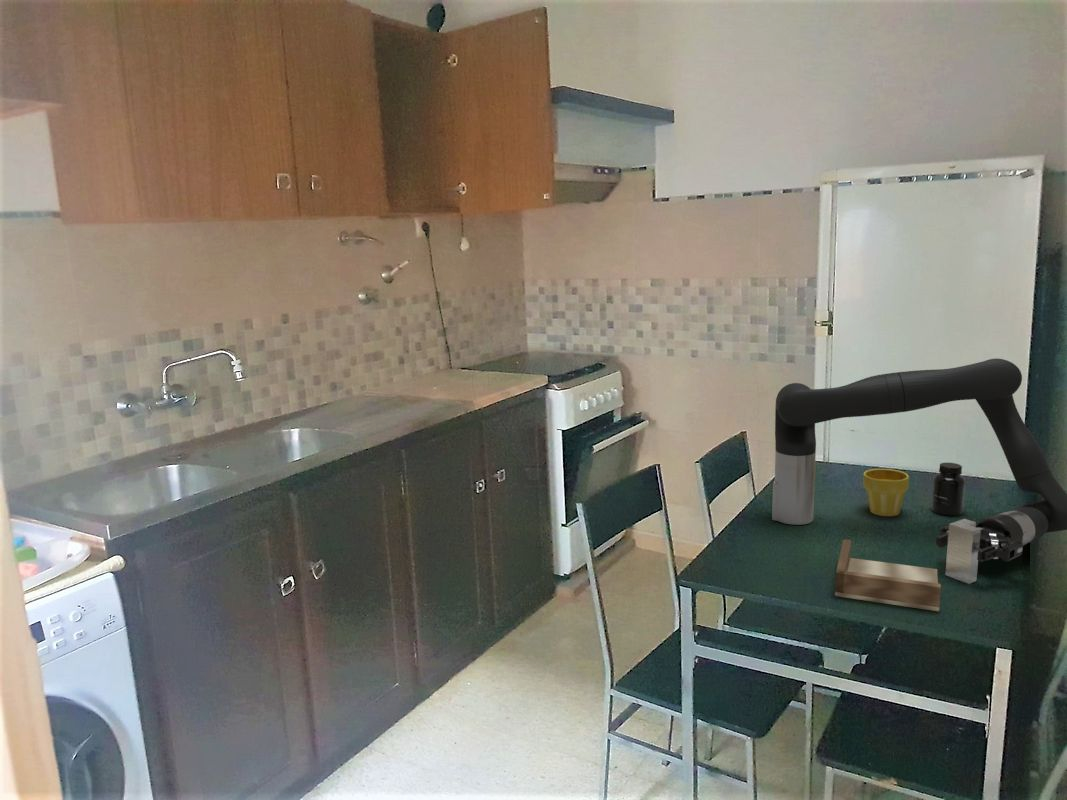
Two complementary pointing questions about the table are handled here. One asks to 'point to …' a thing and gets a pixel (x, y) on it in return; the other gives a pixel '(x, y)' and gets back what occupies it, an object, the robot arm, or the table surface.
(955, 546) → the bracket
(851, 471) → the table surface
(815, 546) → the table surface
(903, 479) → the plant pot
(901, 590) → the wooden tray
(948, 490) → the supplement bottle
